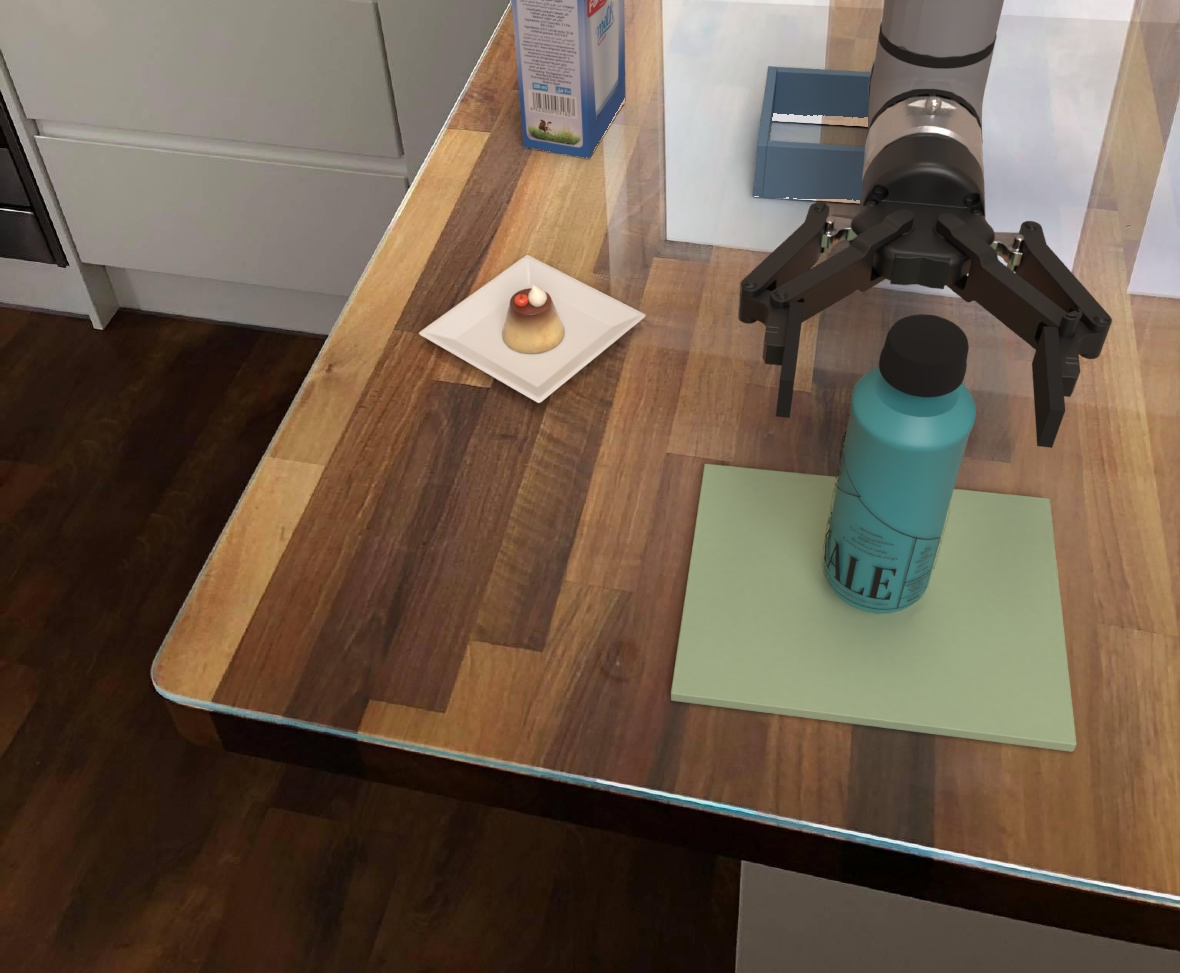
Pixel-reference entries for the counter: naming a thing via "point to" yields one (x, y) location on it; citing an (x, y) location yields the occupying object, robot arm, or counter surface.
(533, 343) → the dessert
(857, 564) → the beverage bottle
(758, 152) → the box
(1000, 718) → the mat
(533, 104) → the milk carton
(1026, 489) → the counter surface
